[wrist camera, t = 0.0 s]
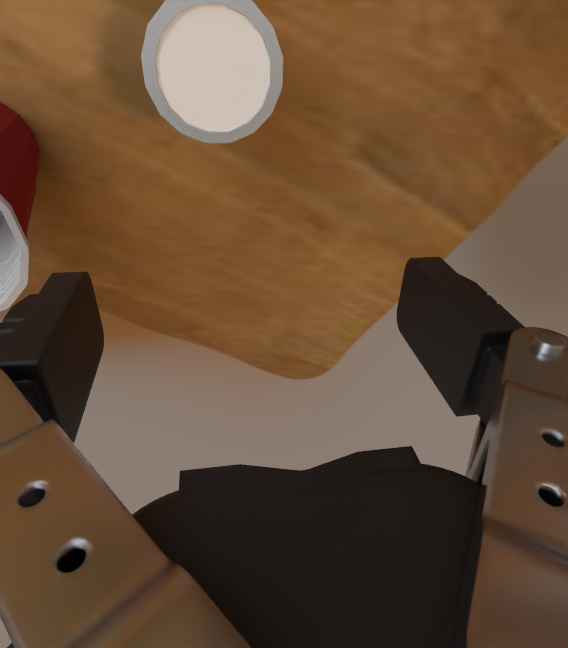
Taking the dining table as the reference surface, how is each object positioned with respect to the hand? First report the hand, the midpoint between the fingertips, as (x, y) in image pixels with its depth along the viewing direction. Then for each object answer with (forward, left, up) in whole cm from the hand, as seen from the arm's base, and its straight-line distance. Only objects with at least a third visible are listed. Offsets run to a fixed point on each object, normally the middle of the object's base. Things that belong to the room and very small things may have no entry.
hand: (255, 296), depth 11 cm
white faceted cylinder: (-1, -1, -23) cm, 23 cm away
